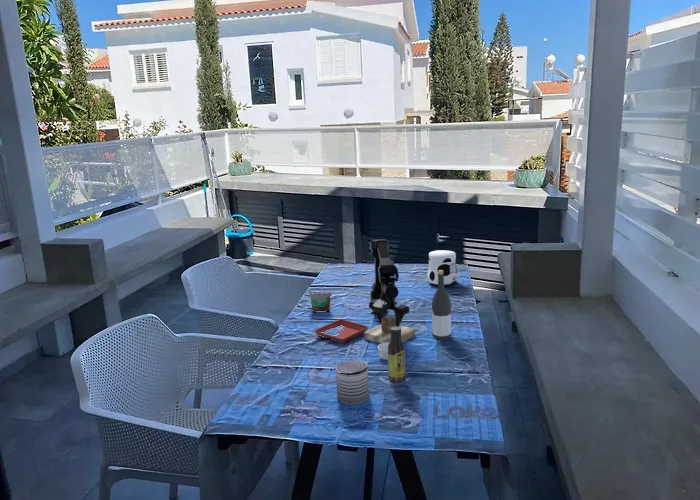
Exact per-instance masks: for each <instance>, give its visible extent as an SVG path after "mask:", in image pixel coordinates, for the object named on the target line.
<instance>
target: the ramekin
mask: <svg viewBox="0 0 700 500" xmlns="http://www.w3.org/2000/svg"><path fill="white" fill-rule="evenodd" d="M388 344H389V342H387V343H382V344H380V343H378V345H377V350H378V356H379V358H380V359H381V360H385V361H386V360H387V361H388Z"/></svg>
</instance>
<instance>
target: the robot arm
mask: <svg viewBox="0 0 700 500" xmlns="http://www.w3.org/2000/svg"><path fill="white" fill-rule="evenodd" d="M388 249H390V247H389V240H387V239H384V238H383V239H382V238H381V239H373V240H371V241H370V242H369V250H370V251H371V255H372V256H373V257H374V283H373V284H372V285H371V290H370V294H369V304H368V308H369V309H371V312H370V314H374V315H376V316H377V319H378V321H379V323H380V324H381V318H383V317H384V315H385V314H387V313H388V312H389V310H391V311H393V312H394V314H393V317H396V326H397V327H399V326H400V325H401V323H402V320H403V319H404V316H406V315H407V314H409V313H410V307H409V306H408V305H406V304H400V305H398V302H397V301H396V298H397V297H398V295H399V289H398V288H397V285H396V282H398V281H399V278H400V276H399V275H400V274H399V270H398V268H397V265H395V262H394V261H393V260H392V259H391V258H390V255H389V254H390V253H389V251H388ZM397 305H398V306H397Z"/></svg>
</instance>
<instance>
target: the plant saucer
mask: <svg viewBox="0 0 700 500" xmlns="http://www.w3.org/2000/svg"><path fill="white" fill-rule="evenodd" d="M340 325H343V326H345V327H344V328H343V329H344V330H343V329H342V330H341V331H340V332H338V333H339V335H337V336H338V337H334V336H331V335H327V334H324V333H321V332H324V331H326V330H329V329H331V328H335V327H337V326H340ZM368 330H369V326H367V325H363V324H360V323H357V322H353V321H348V320H345V319H341V318H340V319H338V320H336V321H333V322H331V323H329V324H327V325H324V326H322V327H319V328H316V329H315V330H314V332H315V334H316V335H318V336H319V335H321V336H324V337H327V338H330V339H329V340H331V339H333V340H332V341H334V340H336V341H335V342H337V341H339V342H338V343H340V342H344V343H345V341H346V342H348V341H351V340H353V339H354V337H355V338H356V336H357V337H358V335H359V336H361V335H362V334H364V332H366V331H368ZM321 336H320V337H321ZM324 337H323V338H324ZM327 338H326V339H327ZM347 340H348V341H347Z"/></svg>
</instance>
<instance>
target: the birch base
mask: <svg viewBox="0 0 700 500" xmlns="http://www.w3.org/2000/svg"><path fill="white" fill-rule="evenodd" d="M399 327H400V328H401V340H402V343H404V342H406V341H408V340H410V339H411V338H413V337H415V336H416V328H413V327H410V326H409V327H408V326H405V325H401V324H400V326H399ZM363 334H364V337H363V338H364V339H365V340H368V341H371V342H373V343H378V344H382V343H387V342H390V341H391V334H390V333H386V332H382V326H381V324H379V325H377V326H374V327H373V328H370V329H367V330H366V331H365V332H364V333H363Z"/></svg>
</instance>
